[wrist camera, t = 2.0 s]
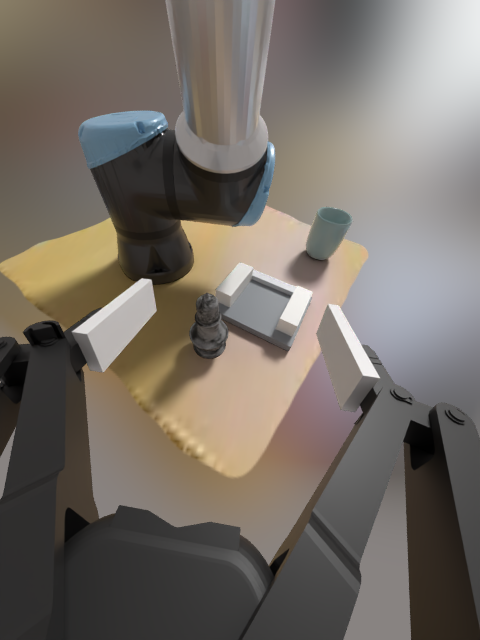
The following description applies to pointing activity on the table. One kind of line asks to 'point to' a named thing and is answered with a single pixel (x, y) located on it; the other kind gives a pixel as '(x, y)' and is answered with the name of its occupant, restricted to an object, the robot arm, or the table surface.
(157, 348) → the table surface
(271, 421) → the table surface
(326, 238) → the cup
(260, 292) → the rail board
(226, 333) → the salt shaker
